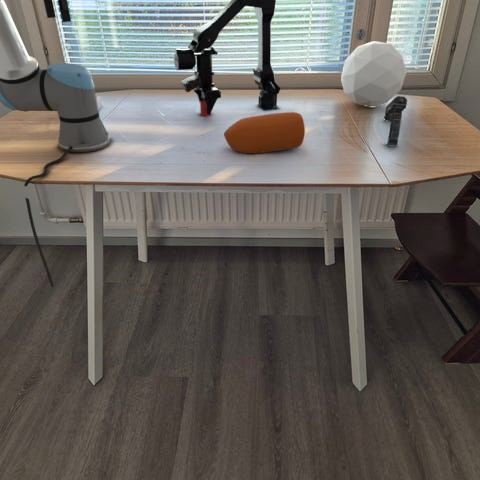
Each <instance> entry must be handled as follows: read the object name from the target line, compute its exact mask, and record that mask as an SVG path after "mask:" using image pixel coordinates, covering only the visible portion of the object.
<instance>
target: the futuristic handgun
mask: <svg viewBox="0 0 480 480" xmlns="http://www.w3.org/2000/svg"><path fill="white" fill-rule="evenodd" d="M407 105H408V99H407V97H406V96H400V95H398V96H396V97H393V98H392V99H391V100H390V101H389V102H388V104H387V105H386V106H385V110H384V115H383V121H385V122H389V124H390V125H389V132H388V137H387V141H386V142H387V143H386V146H395V147H396V146H398V142H399V137H400V129H401V124H402V116H403V112H404V110H406V109H407ZM384 119H385V120H384ZM386 120H388V121H386Z"/></svg>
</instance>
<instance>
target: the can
mask: <svg viewBox="0 0 480 480" xmlns="http://www.w3.org/2000/svg"><path fill="white" fill-rule="evenodd" d="M199 110H200V116H202V117H208V116H210V115H208V114H207V110H206V105H205V100H202V101H200V102H199Z"/></svg>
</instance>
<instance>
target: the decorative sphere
mask: <svg viewBox="0 0 480 480" xmlns="http://www.w3.org/2000/svg"><path fill="white" fill-rule="evenodd" d="M407 72H408V71H407V68H406V65H405V61H404V57H403V55H402V54H401V52H400V51H398V49H397V48H396V47H395V46H394V44H392V43H389V42H382V41H376V40H371V41H369V42H367V43H364V44H361V45H358V46H357V47H356V48H355V49H354V50H353V51H352V52H351V53H350V54H349V55H348V57H347V58H346V59H345V60H344V63H343V66H342V71H341V74H340V75H341V76H340V82H341V85H342V89H343V90H342V91H343V93H344V95H345V96H346V97H348V98H349V100H351V101H352V102H353V101H354V102H353V103H355V104H356V105H359V106H362V105H367V106H376V107H369V109H374V108H377V107H379V106H382V105H384V104H387V103H389V102H390V101H391V100H392V99H394V98H395V96H396V95H397V94H398V93H399V92H400V91H401V90H402V87H403V84H404V82H405V78H406V75H407ZM381 104H382V105H381ZM378 105H379V106H378ZM367 106H365V107H366V108H368V107H367Z"/></svg>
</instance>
